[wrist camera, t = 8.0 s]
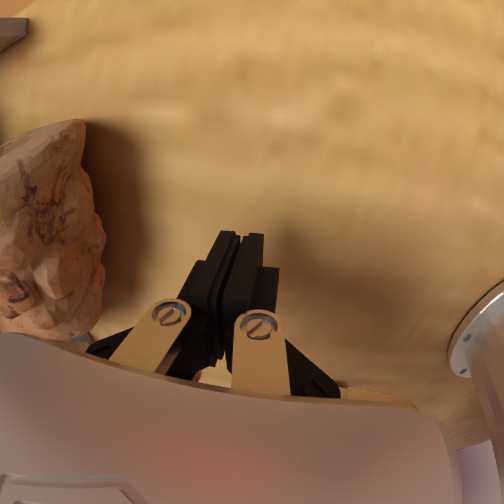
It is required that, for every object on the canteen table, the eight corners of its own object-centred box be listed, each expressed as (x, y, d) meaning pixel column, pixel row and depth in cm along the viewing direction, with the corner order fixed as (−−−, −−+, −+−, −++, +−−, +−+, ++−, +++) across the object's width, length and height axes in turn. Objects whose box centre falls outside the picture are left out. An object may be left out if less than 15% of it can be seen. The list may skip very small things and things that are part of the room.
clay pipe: (204, 209, 20) (67, 41, 10) (192, 356, 13) (-80, 119, 3) (63, 285, 26) (-36, 196, 16) (36, 378, 19) (-91, 286, 9)
